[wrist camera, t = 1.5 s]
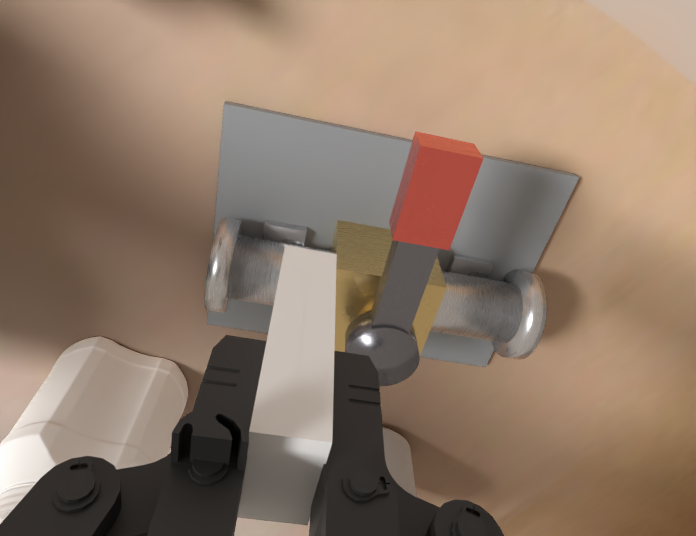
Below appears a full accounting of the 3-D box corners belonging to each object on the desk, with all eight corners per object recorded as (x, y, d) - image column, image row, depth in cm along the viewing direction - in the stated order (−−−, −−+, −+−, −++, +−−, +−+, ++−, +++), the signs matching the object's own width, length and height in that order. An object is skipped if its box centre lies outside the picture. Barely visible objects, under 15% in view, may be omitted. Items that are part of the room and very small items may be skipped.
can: (390, 474, 53) (402, 599, 43) (324, 459, 51) (319, 584, 41) (422, 430, 49) (443, 556, 39) (351, 412, 48) (354, 538, 38)
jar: (202, 370, 44) (147, 539, 32) (170, 433, 49) (111, 603, 36) (68, 324, 41) (-51, 490, 29) (47, 396, 46) (-64, 567, 33)
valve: (222, 276, 39) (196, 348, 32) (229, 195, 35) (202, 257, 28) (493, 321, 42) (524, 396, 35) (527, 251, 38) (568, 319, 31)
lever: (404, 367, 33) (407, 390, 31) (338, 357, 32) (338, 380, 31) (487, 146, 25) (498, 161, 23) (401, 128, 24) (405, 142, 22)
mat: (208, 319, 41) (206, 324, 41) (225, 101, 32) (223, 103, 31) (483, 362, 44) (485, 367, 44) (575, 174, 35) (579, 177, 34)
